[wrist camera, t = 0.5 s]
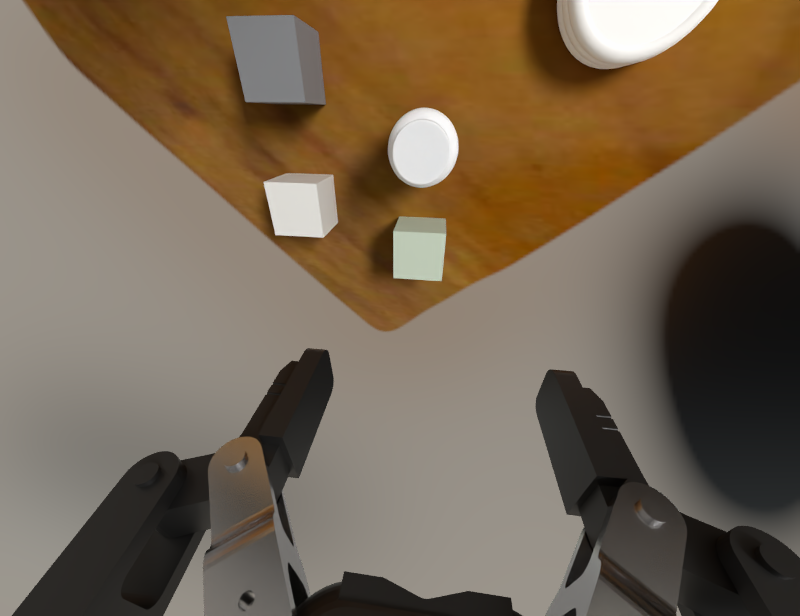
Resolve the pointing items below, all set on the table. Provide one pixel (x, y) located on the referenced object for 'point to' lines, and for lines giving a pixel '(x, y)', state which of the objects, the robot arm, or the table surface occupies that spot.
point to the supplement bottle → (423, 147)
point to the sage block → (419, 248)
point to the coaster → (626, 28)
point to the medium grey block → (277, 59)
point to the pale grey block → (302, 204)
